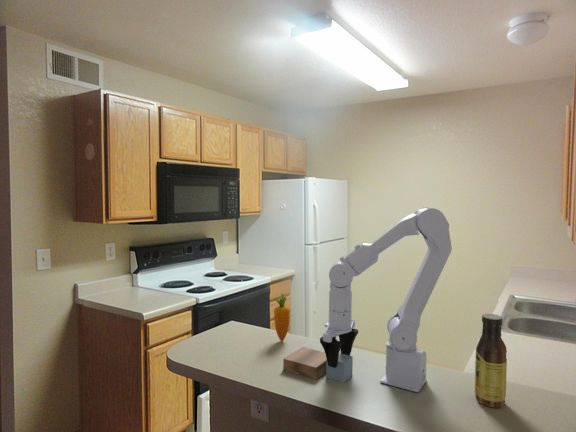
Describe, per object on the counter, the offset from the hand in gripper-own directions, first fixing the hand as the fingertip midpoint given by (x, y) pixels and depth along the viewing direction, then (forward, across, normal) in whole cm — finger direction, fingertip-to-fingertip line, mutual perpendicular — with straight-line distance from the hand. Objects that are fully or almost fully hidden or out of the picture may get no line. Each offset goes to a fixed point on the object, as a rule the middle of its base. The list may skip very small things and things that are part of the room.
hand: (339, 361), depth 103 cm
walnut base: (+4, 0, -9) cm, 10 cm away
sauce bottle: (+4, -7, +34) cm, 35 cm away
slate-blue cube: (+4, 0, 0) cm, 4 cm away
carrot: (+4, -12, -26) cm, 29 cm away
